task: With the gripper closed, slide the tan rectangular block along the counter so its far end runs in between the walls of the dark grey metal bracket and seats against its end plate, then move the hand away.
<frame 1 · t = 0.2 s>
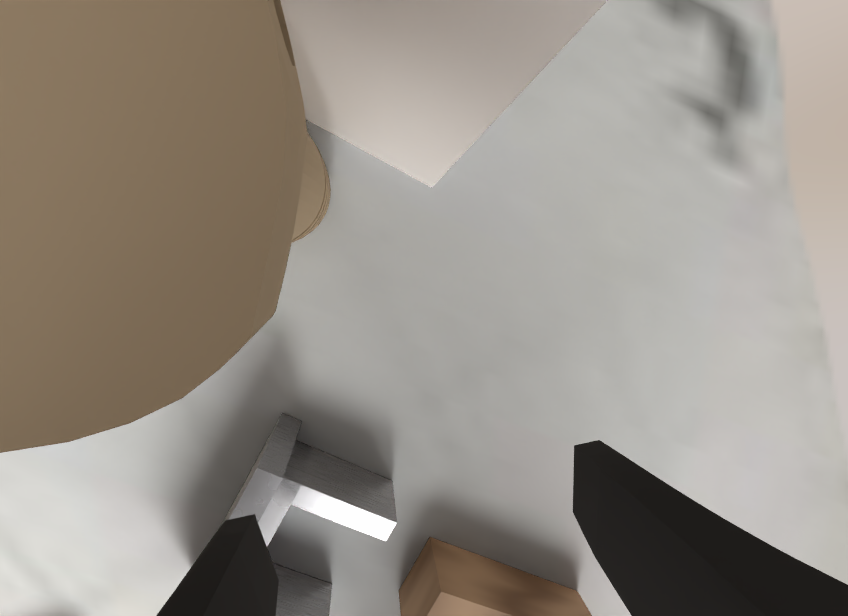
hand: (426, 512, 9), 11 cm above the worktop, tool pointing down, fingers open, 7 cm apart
handle: (293, 194, 17), on the worktop
bracket: (312, 524, 20), on the worktop
tan rectangular block: (490, 587, 23), on the worktop
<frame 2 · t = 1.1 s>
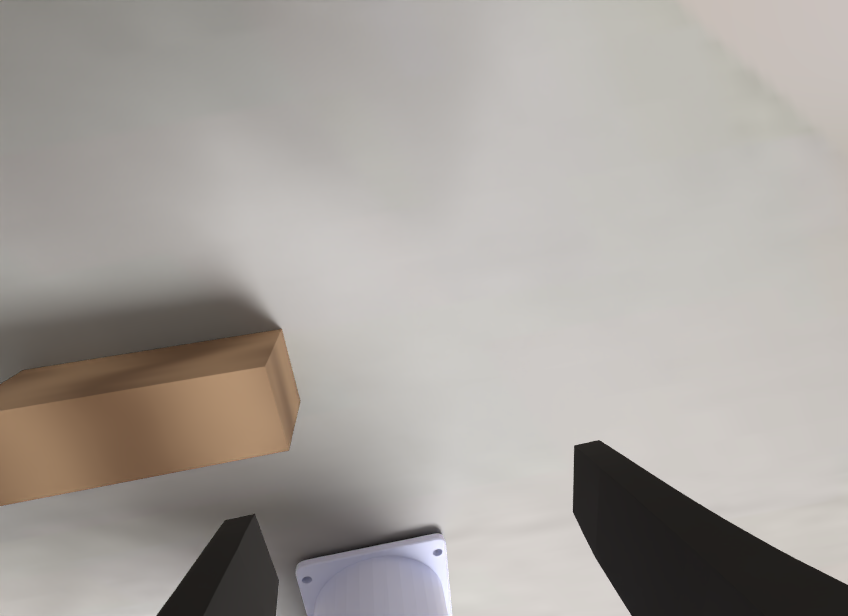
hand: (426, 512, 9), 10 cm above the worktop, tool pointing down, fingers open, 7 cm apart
tan rectangular block: (173, 383, 17), on the worktop
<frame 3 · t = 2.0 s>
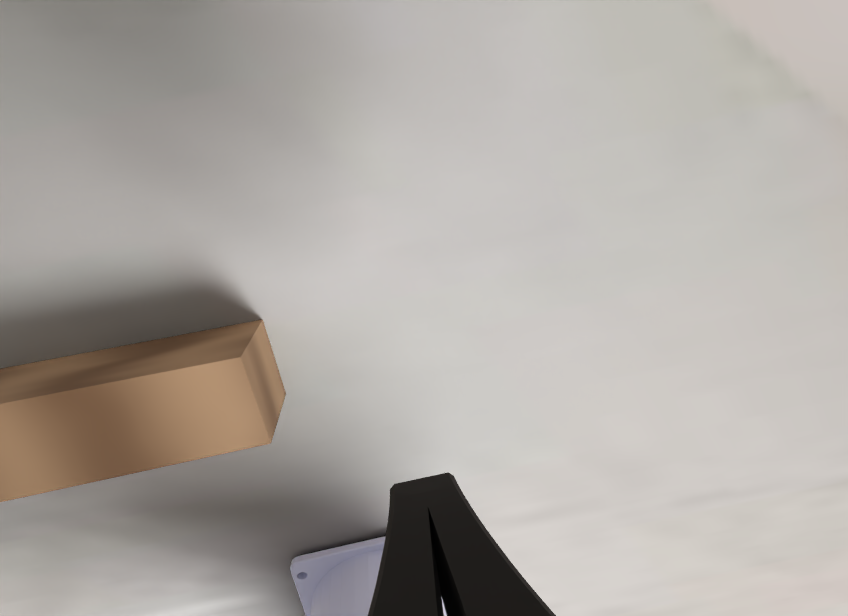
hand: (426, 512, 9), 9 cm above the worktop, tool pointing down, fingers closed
tan rectangular block: (155, 379, 17), on the worktop
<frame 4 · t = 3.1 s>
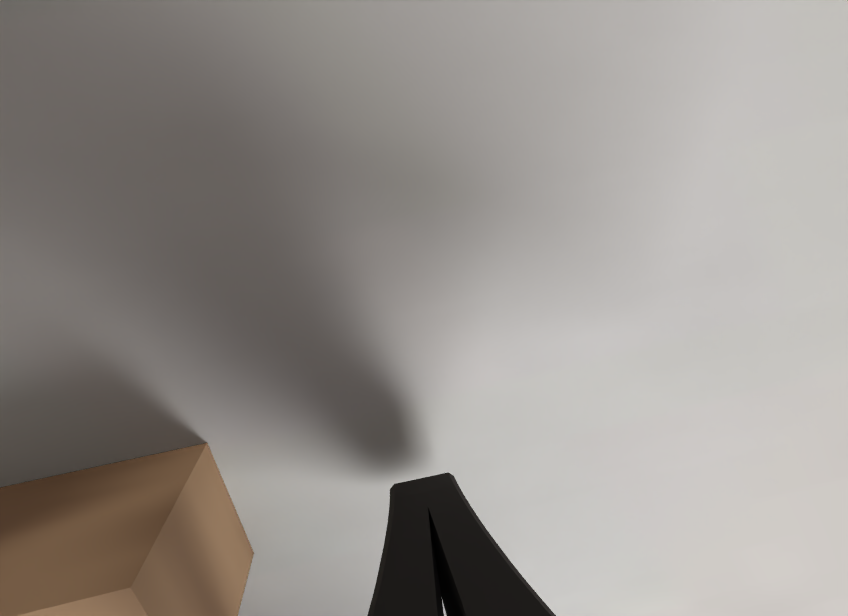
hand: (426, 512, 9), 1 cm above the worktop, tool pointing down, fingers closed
tan rectangular block: (20, 543, 10), on the worktop
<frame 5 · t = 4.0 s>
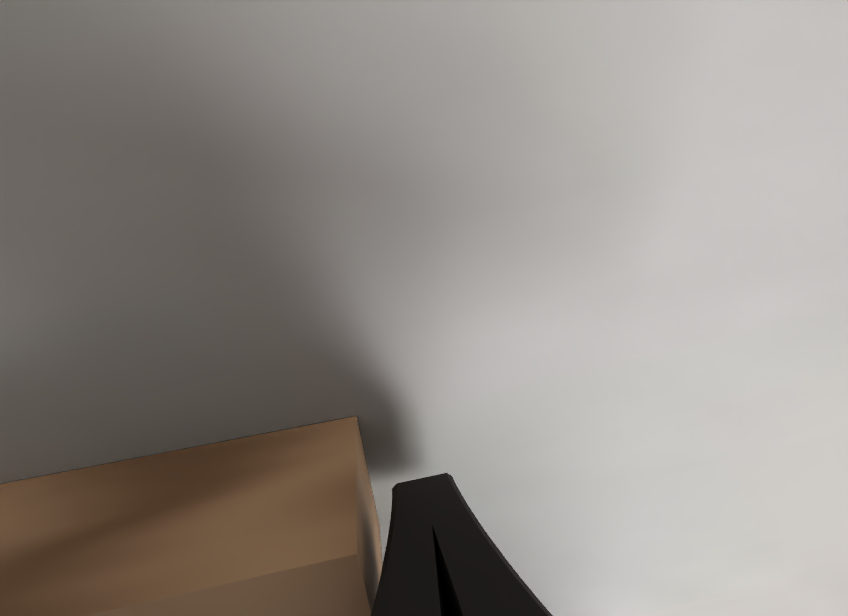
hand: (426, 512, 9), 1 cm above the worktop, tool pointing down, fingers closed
tan rectangular block: (162, 517, 10), on the worktop, touching gripper
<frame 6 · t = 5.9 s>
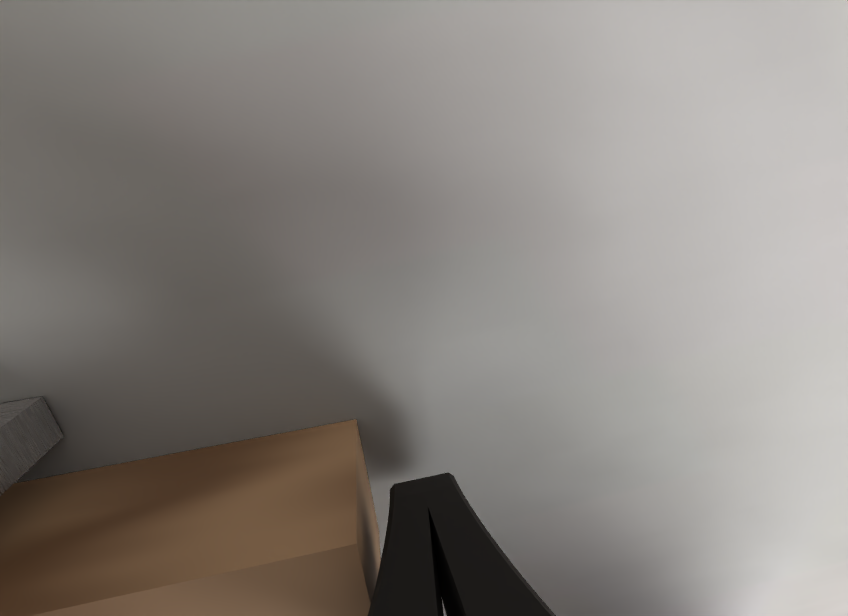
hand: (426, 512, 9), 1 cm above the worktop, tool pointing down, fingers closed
bracket: (0, 556, 9), on the worktop
tan rectangular block: (166, 511, 10), on the worktop
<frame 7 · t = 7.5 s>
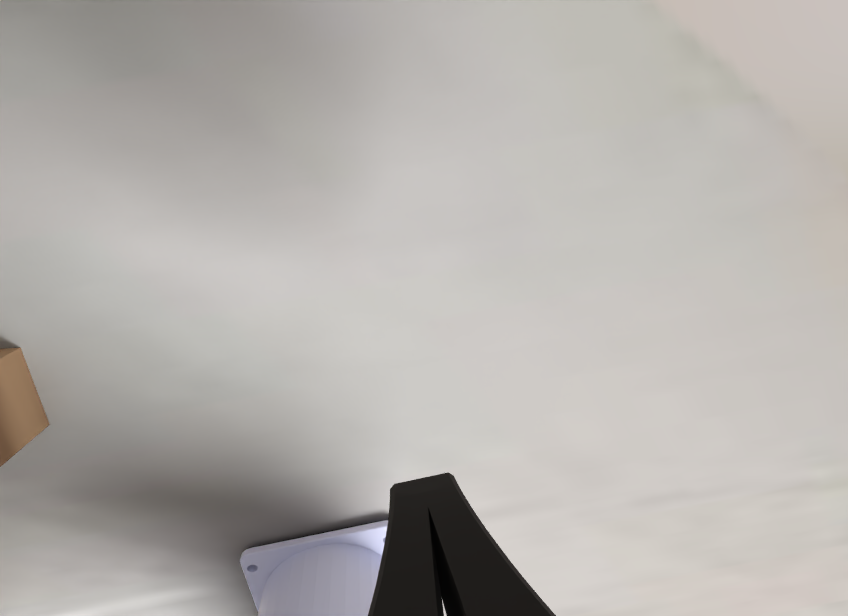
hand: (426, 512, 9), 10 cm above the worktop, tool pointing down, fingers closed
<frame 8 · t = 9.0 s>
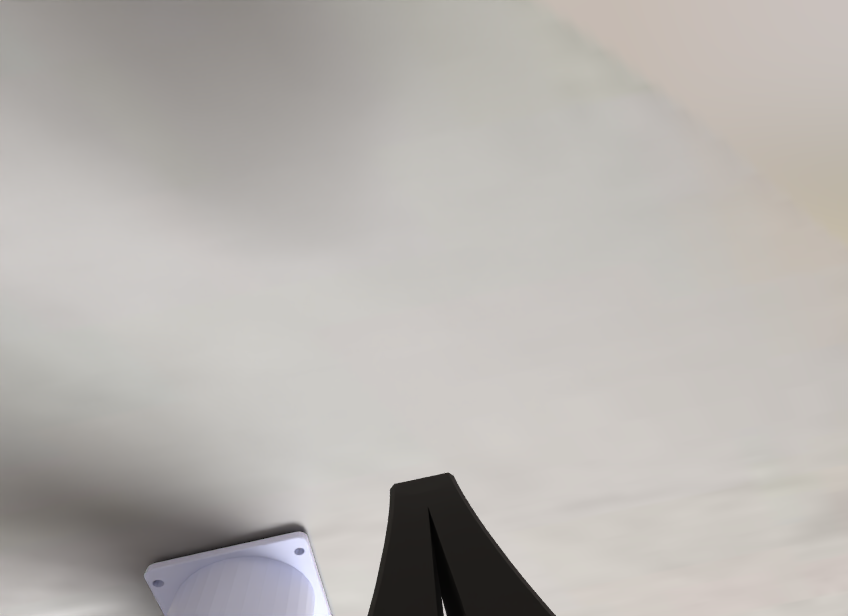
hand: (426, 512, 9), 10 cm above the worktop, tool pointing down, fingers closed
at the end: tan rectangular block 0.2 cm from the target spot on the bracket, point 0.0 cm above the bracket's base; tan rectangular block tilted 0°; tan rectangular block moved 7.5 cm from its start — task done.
